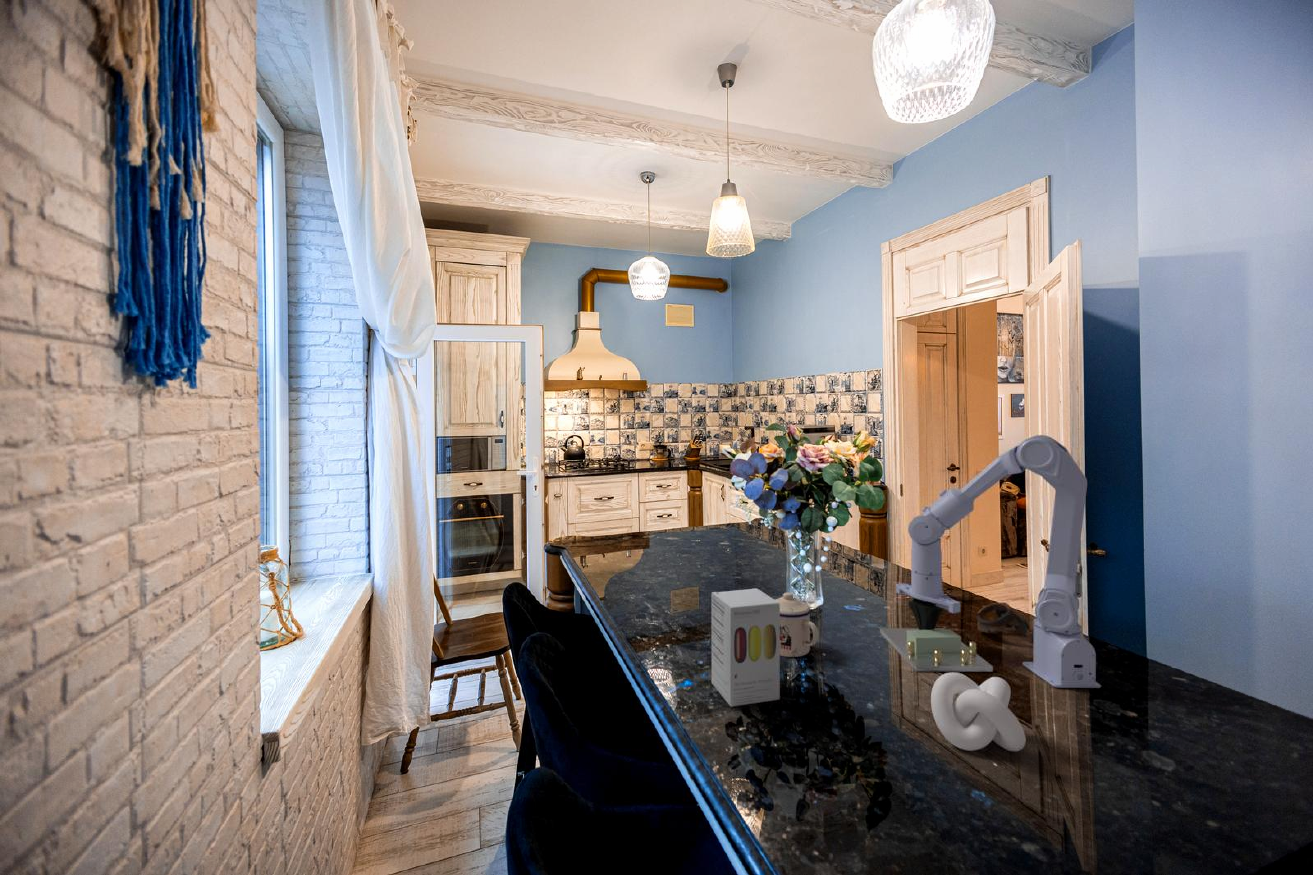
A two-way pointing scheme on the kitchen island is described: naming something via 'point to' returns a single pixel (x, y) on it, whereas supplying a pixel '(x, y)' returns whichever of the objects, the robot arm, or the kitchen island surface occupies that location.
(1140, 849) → the kitchen island surface
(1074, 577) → the robot arm
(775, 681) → the supplement box
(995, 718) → the white decorative knot
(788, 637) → the teacup with lid
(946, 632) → the pale green block
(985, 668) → the chassis
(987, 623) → the pottery mug
